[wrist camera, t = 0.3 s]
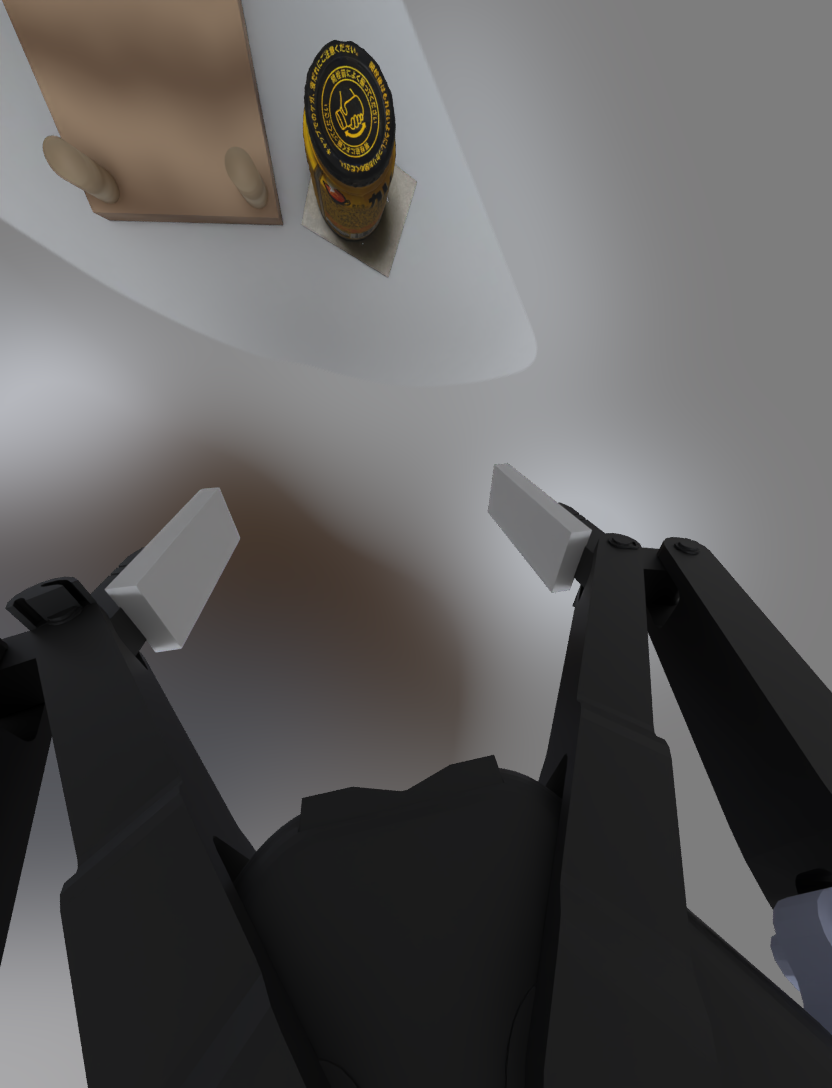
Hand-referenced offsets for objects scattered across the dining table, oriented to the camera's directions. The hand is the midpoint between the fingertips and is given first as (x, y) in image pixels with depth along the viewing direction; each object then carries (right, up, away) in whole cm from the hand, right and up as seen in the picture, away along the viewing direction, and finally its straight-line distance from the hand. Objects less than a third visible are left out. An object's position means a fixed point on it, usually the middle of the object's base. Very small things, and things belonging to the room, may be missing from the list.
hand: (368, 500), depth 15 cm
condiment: (-3, +29, +13) cm, 32 cm away
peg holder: (-17, +32, +7) cm, 37 cm away
